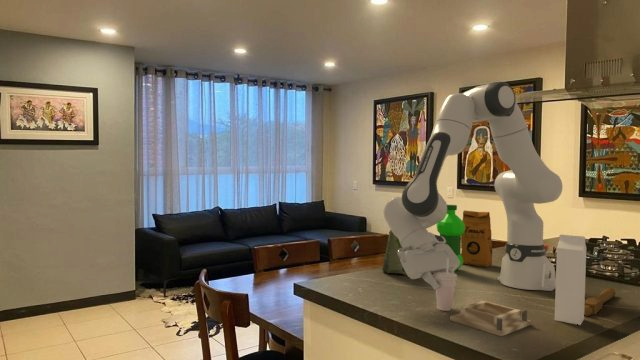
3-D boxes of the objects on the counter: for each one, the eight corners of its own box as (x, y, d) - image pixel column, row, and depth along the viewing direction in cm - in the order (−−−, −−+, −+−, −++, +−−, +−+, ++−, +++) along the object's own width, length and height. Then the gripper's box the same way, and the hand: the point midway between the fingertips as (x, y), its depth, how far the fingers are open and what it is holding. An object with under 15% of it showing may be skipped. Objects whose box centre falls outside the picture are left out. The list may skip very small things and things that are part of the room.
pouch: (401, 268, 181) (403, 204, 180) (418, 275, 169) (420, 206, 169) (375, 270, 177) (377, 204, 176) (391, 277, 165) (393, 206, 165)
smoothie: (457, 313, 125) (458, 261, 125) (432, 311, 126) (434, 259, 126) (455, 306, 131) (456, 256, 131) (431, 304, 133) (433, 255, 132)
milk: (558, 315, 126) (561, 233, 125) (584, 319, 122) (587, 235, 122) (554, 320, 121) (556, 235, 120) (580, 325, 117) (583, 237, 117)
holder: (481, 310, 128) (481, 298, 128) (531, 324, 117) (531, 310, 117) (450, 320, 119) (450, 306, 119) (501, 336, 108) (501, 321, 108)
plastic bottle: (449, 273, 173) (451, 206, 172) (430, 268, 182) (431, 204, 181) (469, 271, 178) (471, 205, 177) (449, 266, 187) (450, 203, 186)
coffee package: (487, 268, 183) (489, 212, 183) (456, 264, 191) (458, 210, 190) (495, 265, 191) (497, 211, 191) (465, 260, 199) (467, 209, 198)
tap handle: (616, 288, 146) (591, 307, 124) (616, 297, 146) (591, 318, 124) (605, 286, 148) (578, 304, 126) (604, 295, 148) (578, 316, 126)
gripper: (401, 242, 127) (429, 285, 120) (447, 236, 140) (475, 275, 133) (388, 255, 131) (415, 298, 124) (434, 249, 144) (461, 287, 136)
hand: (446, 286), depth 128 cm, fingers closed on smoothie, 6 cm apart
